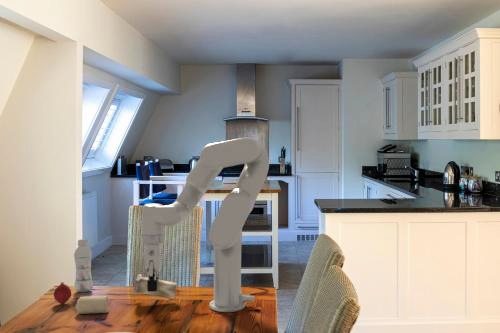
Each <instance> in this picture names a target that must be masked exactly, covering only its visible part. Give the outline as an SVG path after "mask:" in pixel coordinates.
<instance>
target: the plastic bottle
mask: <svg viewBox="0 0 500 333" xmlns="http://www.w3.org/2000/svg"><path fill="white" fill-rule="evenodd" d="M88 245H89V239H86V238H85V239H84V238H83V239H78V240H77V248H76V249H75V251H74V253H73V258H74V262H75V263H74V264H75V282H74V289H75V291H76V292H78V293H88V292H91V291H92V290H93V288H94V283H93V277H92V257H93V252H92V250H91V248H90V247H89V246H88Z"/></svg>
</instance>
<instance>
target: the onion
mask: <svg viewBox="0 0 500 333" xmlns="http://www.w3.org/2000/svg"><path fill="white" fill-rule="evenodd" d="M71 297H72V289H71V288H70V286H68V285H67V284H65V282H64V281H61V282H60V284H59V285H58V286H56V287H55V290H54V291H53V298H54V300H55V301H56V302H57V303H58V304H61V305H64V304H66V303H67V302H68V301H69V300H70V299H71Z"/></svg>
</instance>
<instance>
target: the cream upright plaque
mask: <svg viewBox="0 0 500 333" xmlns="http://www.w3.org/2000/svg"><path fill="white" fill-rule="evenodd" d="M147 280H148V276H143V274H141V273H138V274H137V277H136V279H135V283H134V287H133V292H132V295H135V296H136V295H137V294H138V293H139V294H144V295H149V296H156V297H161V298H166V299H171V300H174V299H175V294H176V289H177V286H178V283H177V282H173V281H167V280H163V279H159V278H158V279H156V280H157V291H152V292H148V291H147Z"/></svg>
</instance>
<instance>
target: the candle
mask: <svg viewBox="0 0 500 333" xmlns="http://www.w3.org/2000/svg"><path fill="white" fill-rule="evenodd" d="M74 308H75V310H76V311H77V312H78V313H79V314H80V315H81V314H83V315H84V314H86V315H87V314H106V313H107V312H108V309H109V298H108V295H98V296H97V295H95V296H94V295H93V296H80V297H79V298H78V300H77V302H76V304H75V307H74Z"/></svg>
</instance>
